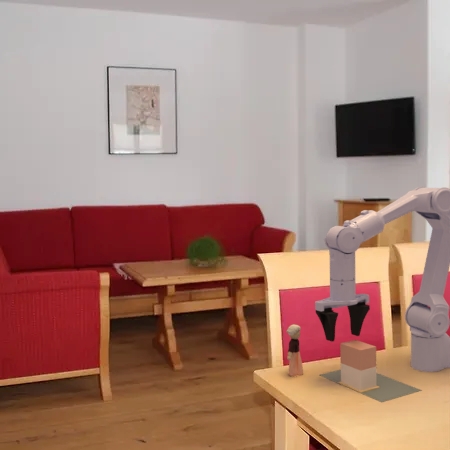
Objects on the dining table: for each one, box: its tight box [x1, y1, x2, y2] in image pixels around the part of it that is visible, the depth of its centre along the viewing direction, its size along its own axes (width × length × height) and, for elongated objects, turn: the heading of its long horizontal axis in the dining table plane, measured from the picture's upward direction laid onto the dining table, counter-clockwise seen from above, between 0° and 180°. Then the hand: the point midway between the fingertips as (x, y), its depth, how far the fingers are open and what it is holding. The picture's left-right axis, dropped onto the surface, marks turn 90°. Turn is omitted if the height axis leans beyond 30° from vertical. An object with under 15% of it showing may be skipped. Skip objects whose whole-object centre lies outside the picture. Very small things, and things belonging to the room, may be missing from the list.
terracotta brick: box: [339, 339, 377, 371], centre depth 130 cm, size 5×6×4 cm
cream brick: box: [340, 362, 377, 391], centre depth 131 cm, size 5×6×4 cm
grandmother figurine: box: [286, 324, 304, 378], centre depth 139 cm, size 8×4×13 cm, turn 168°
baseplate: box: [319, 369, 423, 403], centre depth 132 cm, size 12×20×1 cm, turn 30°
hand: (343, 337), depth 134 cm, fingers open, 7 cm apart
